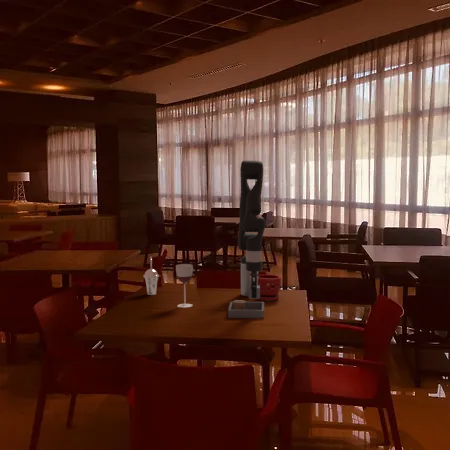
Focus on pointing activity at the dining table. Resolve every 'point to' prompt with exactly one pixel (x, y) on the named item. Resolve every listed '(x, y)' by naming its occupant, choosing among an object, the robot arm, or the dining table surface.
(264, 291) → the plant pot
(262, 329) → the dining table surface
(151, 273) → the cup with straw
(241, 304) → the walnut block
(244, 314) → the tray
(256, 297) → the slate block
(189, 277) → the wineglass
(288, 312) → the dining table surface
